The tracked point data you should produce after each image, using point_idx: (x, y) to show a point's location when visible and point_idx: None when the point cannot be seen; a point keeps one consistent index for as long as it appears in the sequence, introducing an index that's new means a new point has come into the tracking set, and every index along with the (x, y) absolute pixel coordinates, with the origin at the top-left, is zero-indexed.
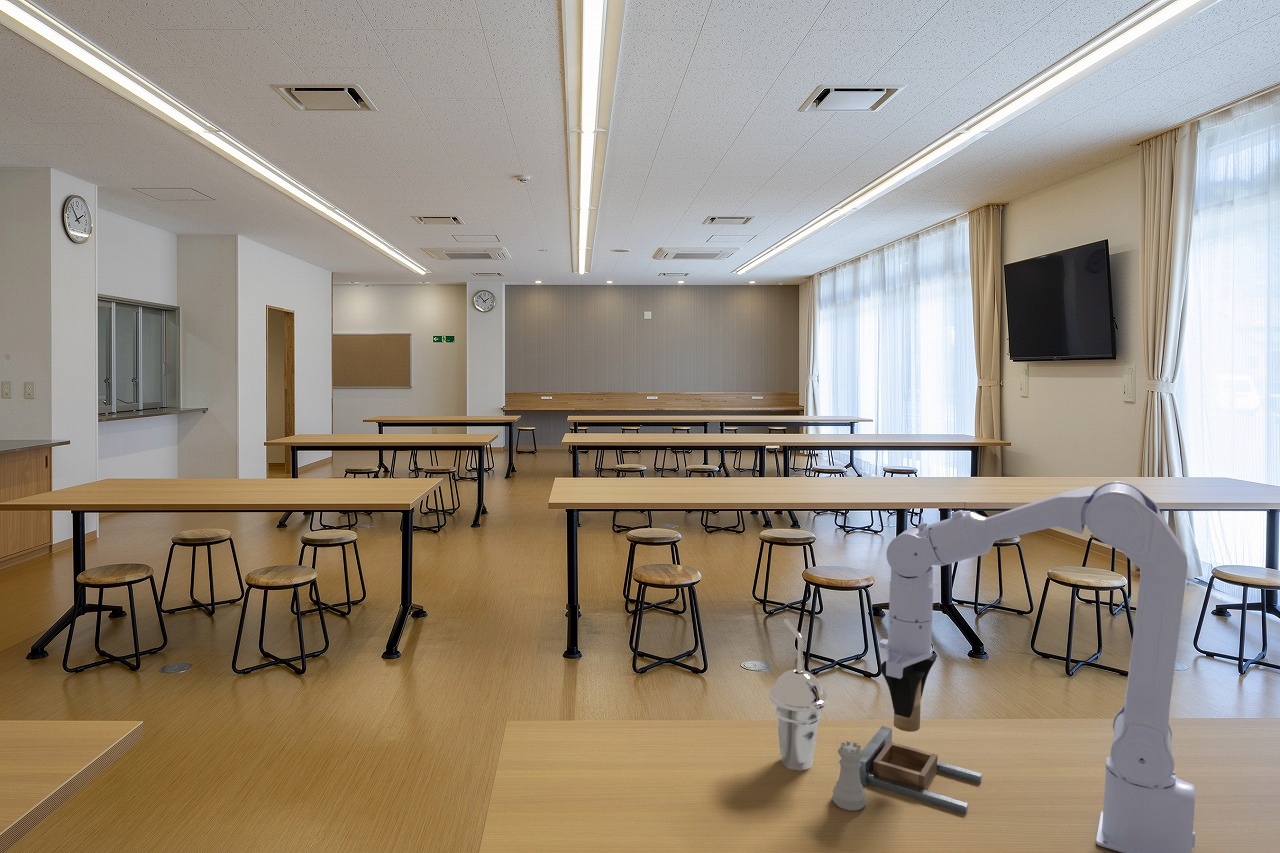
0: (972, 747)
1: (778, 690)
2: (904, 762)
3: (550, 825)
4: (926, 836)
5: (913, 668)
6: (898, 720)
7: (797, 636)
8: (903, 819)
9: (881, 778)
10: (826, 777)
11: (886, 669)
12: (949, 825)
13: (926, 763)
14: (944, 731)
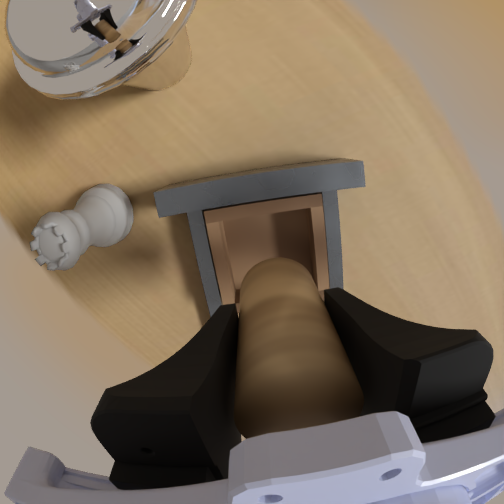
0: (437, 287)
1: None
2: (306, 229)
3: None
4: (129, 336)
5: (371, 411)
6: (240, 296)
7: None
8: (137, 299)
9: (198, 230)
10: (150, 132)
11: (17, 467)
12: (178, 350)
13: None
14: (466, 230)
